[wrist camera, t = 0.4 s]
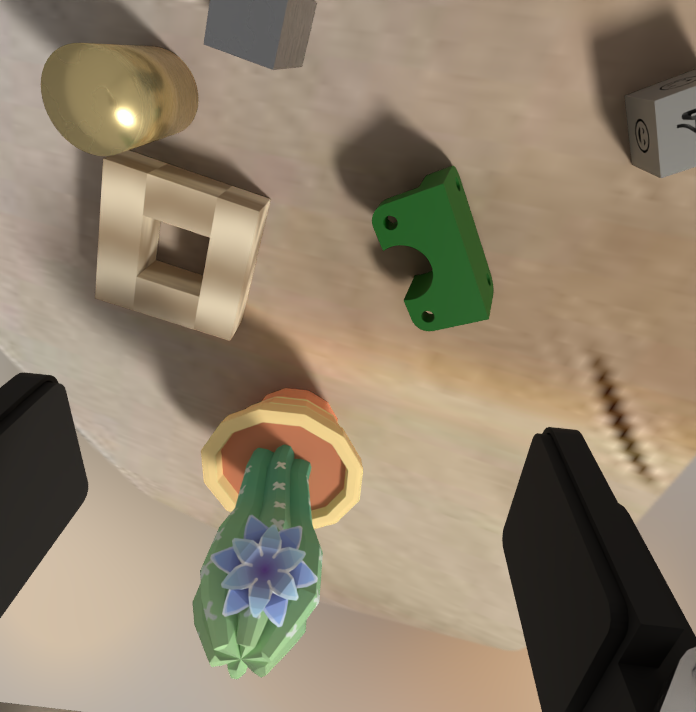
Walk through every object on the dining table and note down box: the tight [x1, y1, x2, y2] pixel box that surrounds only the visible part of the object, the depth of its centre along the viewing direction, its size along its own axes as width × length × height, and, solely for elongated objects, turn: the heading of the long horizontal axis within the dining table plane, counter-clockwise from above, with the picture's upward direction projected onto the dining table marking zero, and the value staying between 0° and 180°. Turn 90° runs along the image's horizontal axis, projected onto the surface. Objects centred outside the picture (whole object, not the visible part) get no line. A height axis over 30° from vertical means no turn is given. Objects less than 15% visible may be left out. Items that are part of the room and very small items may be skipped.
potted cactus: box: [193, 388, 363, 679], centre depth 43 cm, size 15×15×25 cm
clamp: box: [372, 166, 493, 331], centre depth 40 cm, size 12×6×9 cm, turn 17°
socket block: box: [95, 150, 271, 341], centre depth 43 cm, size 12×12×4 cm
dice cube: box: [625, 69, 696, 178], centre depth 35 cm, size 5×5×5 cm
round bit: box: [41, 43, 198, 156], centre depth 34 cm, size 6×6×10 cm
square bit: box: [204, 0, 317, 70], centre depth 31 cm, size 4×4×10 cm
